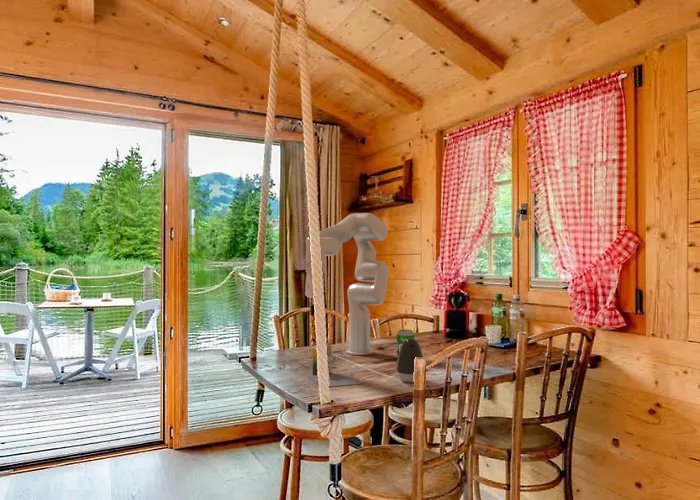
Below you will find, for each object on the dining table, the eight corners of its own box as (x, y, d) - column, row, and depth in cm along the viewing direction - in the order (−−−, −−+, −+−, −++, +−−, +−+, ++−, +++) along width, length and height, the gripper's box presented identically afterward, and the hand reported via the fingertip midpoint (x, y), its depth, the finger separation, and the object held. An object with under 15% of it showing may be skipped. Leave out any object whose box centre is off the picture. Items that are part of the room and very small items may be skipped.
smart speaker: (398, 384, 170) (399, 340, 170) (394, 377, 180) (394, 335, 181) (428, 384, 171) (428, 340, 171) (421, 377, 181) (421, 335, 181)
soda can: (394, 357, 217) (394, 329, 217) (409, 356, 219) (410, 328, 219) (401, 360, 210) (401, 332, 210) (417, 359, 212) (417, 331, 212)
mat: (307, 376, 180) (307, 376, 180) (346, 373, 186) (346, 372, 186) (322, 388, 165) (322, 387, 165) (363, 383, 171) (363, 383, 171)
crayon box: (326, 371, 189) (326, 341, 189) (331, 372, 187) (332, 342, 187) (312, 374, 184) (312, 343, 184) (317, 376, 182) (317, 344, 182)
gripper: (300, 268, 199) (300, 313, 199) (312, 268, 186) (311, 317, 185) (318, 268, 202) (317, 312, 202) (330, 268, 188) (330, 317, 188)
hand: (314, 315), depth 194 cm, fingers closed
